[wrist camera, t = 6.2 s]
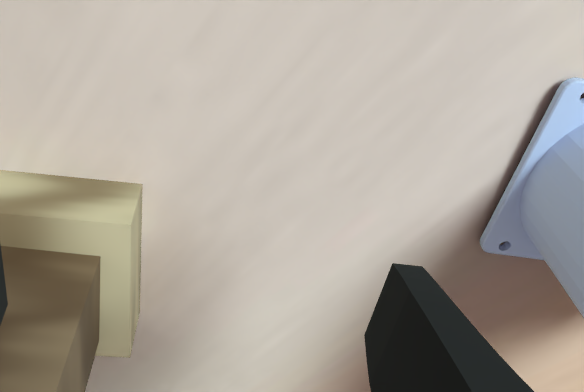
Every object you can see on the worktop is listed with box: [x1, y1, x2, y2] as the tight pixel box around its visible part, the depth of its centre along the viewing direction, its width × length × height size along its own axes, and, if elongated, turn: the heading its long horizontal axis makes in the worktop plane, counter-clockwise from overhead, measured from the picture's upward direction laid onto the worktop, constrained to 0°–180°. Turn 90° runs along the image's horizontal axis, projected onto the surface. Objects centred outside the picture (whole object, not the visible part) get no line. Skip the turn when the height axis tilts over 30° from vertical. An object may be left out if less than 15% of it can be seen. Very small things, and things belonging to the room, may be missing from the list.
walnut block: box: [0, 246, 101, 392], centre depth 18 cm, size 4×4×6 cm
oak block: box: [0, 170, 142, 358], centre depth 22 cm, size 7×7×3 cm
